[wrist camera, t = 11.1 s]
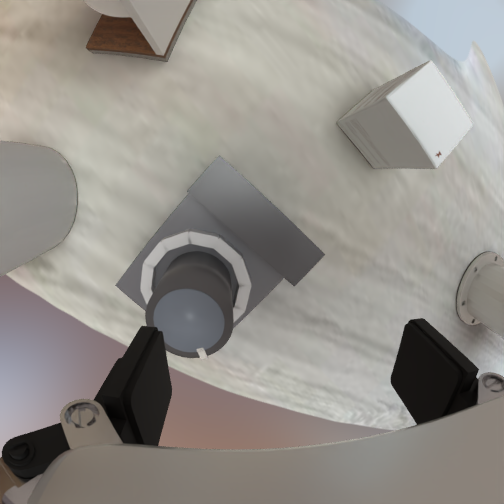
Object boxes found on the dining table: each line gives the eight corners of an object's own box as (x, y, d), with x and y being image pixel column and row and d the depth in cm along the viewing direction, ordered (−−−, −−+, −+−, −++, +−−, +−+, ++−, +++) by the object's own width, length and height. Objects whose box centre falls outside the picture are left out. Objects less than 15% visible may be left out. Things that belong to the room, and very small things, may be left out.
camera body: (296, 229, 34) (325, 254, 23) (209, 319, 36) (202, 373, 25) (224, 161, 31) (219, 155, 21) (139, 261, 33) (103, 297, 23)
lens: (219, 242, 25) (217, 268, 18) (240, 306, 27) (245, 349, 20) (154, 262, 25) (131, 293, 18) (178, 322, 27) (166, 367, 20)
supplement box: (409, 135, 31) (476, 126, 19) (372, 170, 32) (437, 172, 20) (373, 88, 30) (432, 57, 17) (333, 121, 31) (385, 97, 18)
